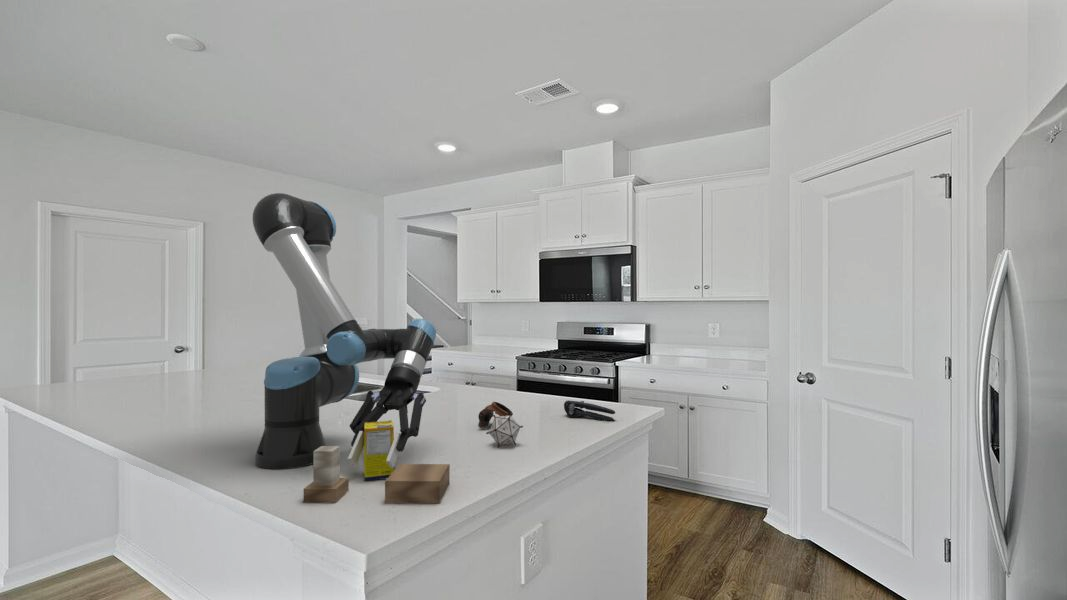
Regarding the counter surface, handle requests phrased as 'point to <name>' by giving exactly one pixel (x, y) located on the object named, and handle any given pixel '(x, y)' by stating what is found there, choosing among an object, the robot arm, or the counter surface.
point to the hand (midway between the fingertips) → (370, 463)
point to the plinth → (417, 483)
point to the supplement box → (377, 449)
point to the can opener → (576, 412)
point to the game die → (504, 430)
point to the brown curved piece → (488, 413)
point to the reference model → (326, 477)
